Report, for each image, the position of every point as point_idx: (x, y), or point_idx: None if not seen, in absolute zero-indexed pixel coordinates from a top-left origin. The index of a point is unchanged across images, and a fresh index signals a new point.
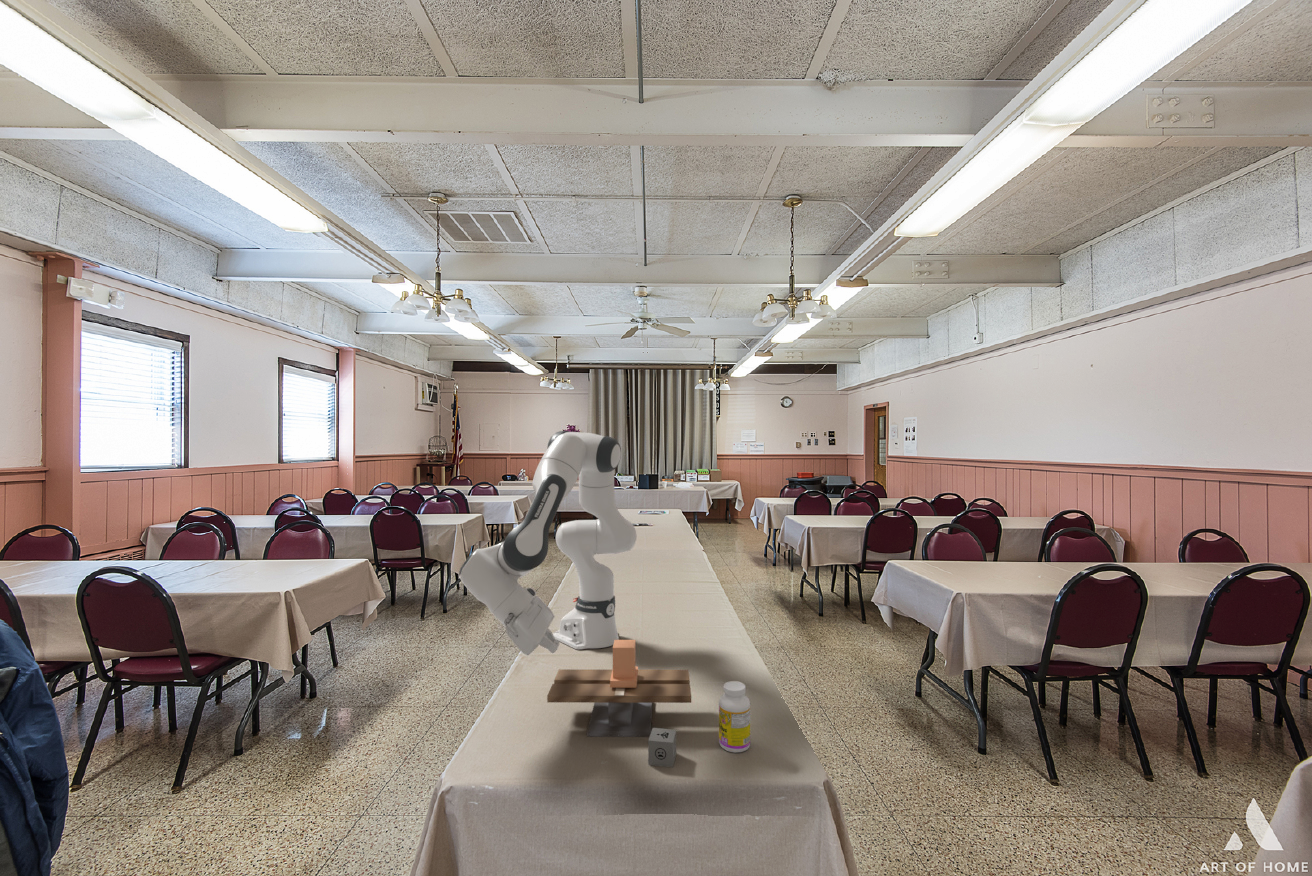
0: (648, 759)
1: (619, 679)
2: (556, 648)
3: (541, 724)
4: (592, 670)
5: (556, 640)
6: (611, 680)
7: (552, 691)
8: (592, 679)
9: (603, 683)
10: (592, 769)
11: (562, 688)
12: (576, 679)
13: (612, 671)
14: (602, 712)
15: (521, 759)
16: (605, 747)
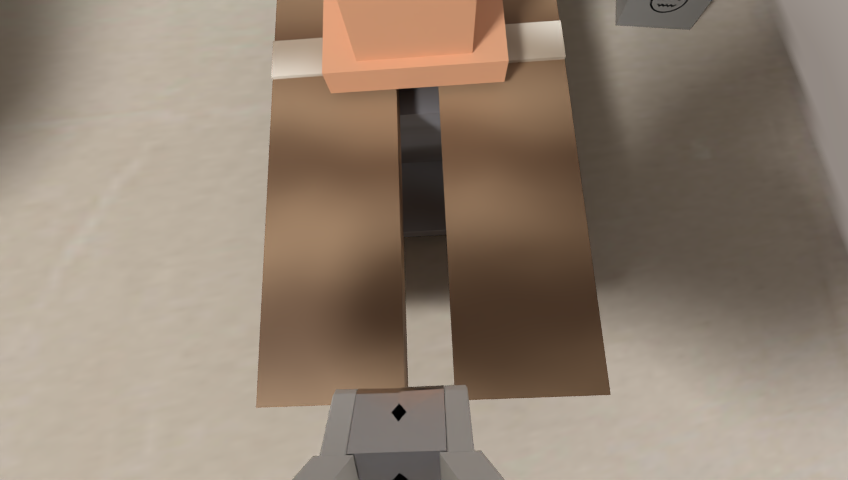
0: (698, 17)
1: (486, 20)
2: (466, 393)
3: (488, 424)
4: (278, 208)
5: (332, 429)
6: (502, 54)
7: (554, 376)
8: (390, 188)
9: (399, 142)
10: (748, 177)
11: (510, 326)
12: (393, 272)
13: (387, 67)
14: (422, 192)
15: (746, 437)
16: (616, 159)
